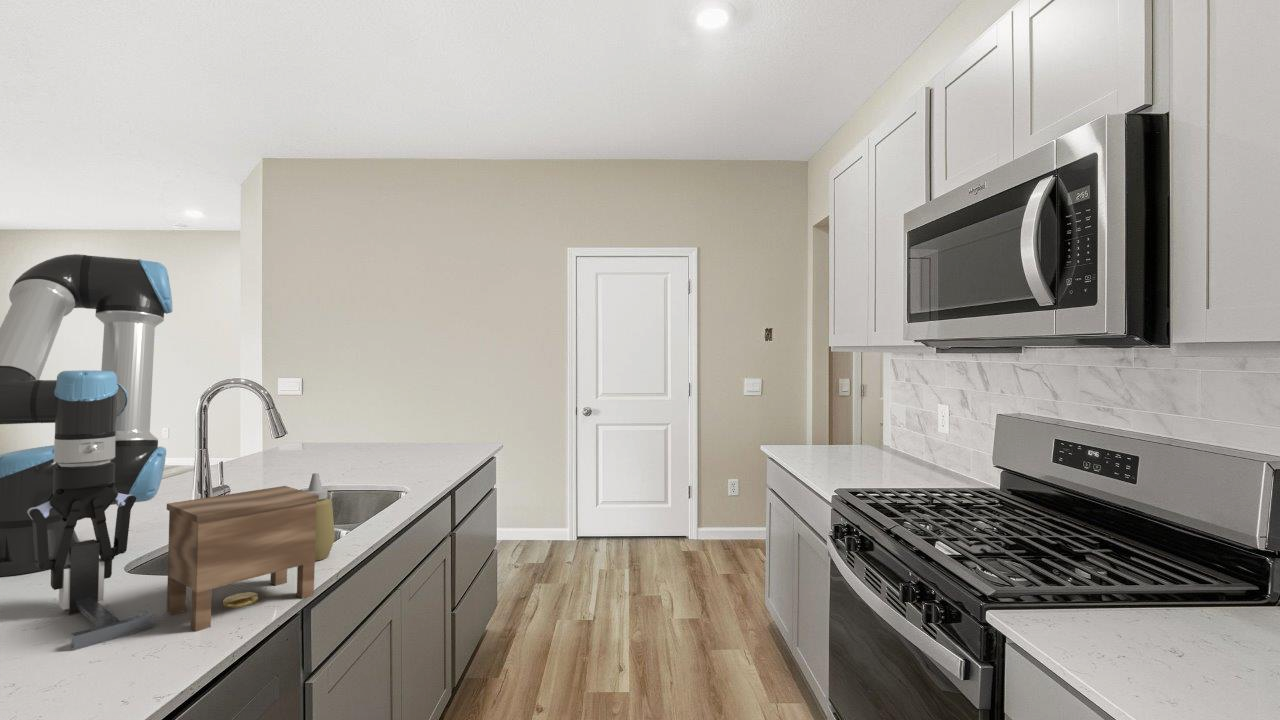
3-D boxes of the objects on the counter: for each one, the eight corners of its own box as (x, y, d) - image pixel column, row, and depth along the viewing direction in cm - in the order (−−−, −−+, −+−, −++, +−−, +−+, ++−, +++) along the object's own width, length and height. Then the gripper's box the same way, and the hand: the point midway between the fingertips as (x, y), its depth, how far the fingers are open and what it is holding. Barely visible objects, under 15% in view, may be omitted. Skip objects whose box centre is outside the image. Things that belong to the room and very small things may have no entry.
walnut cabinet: (163, 611, 98) (166, 503, 98) (282, 579, 113) (285, 485, 113) (194, 632, 91) (197, 516, 91) (316, 594, 106) (318, 495, 106)
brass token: (217, 604, 102) (218, 599, 102) (249, 595, 106) (250, 590, 106) (230, 612, 99) (230, 606, 99) (262, 602, 103) (263, 596, 103)
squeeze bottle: (315, 565, 121) (318, 478, 121) (282, 562, 123) (284, 476, 123) (343, 553, 129) (345, 471, 129) (311, 550, 130) (313, 469, 131)
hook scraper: (41, 616, 95) (42, 548, 95) (113, 598, 103) (115, 535, 103) (73, 650, 85) (76, 573, 85) (151, 627, 92) (153, 557, 92)
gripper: (19, 472, 89) (14, 626, 89) (155, 459, 103) (151, 592, 103) (8, 466, 94) (4, 614, 93) (140, 454, 107) (136, 583, 107)
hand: (81, 602), depth 98 cm, fingers closed on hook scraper, 3 cm apart
